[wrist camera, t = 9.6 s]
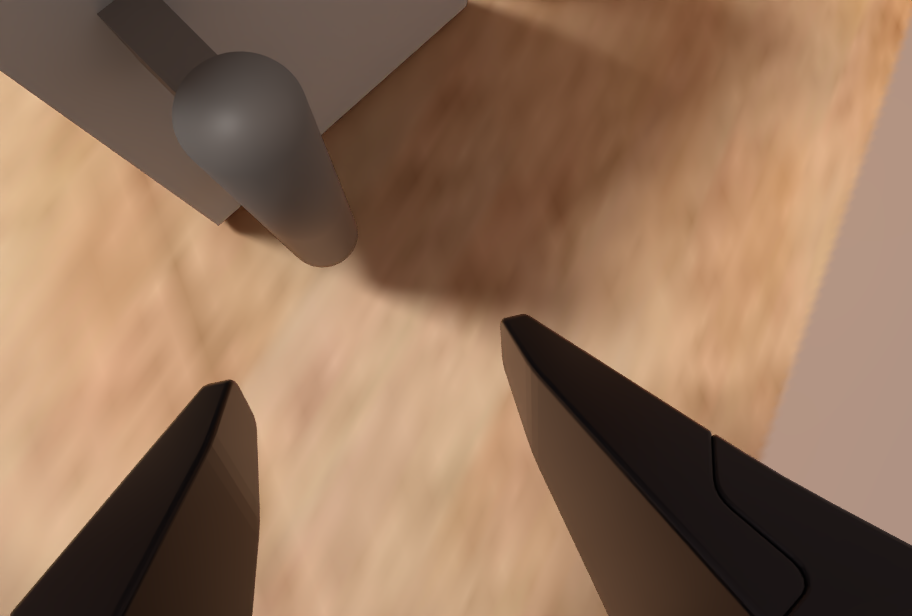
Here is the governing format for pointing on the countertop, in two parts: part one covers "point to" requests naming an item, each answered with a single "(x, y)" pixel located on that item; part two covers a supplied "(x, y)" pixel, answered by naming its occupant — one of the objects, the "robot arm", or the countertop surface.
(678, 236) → the countertop surface
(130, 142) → the door
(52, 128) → the countertop surface
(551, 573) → the countertop surface
